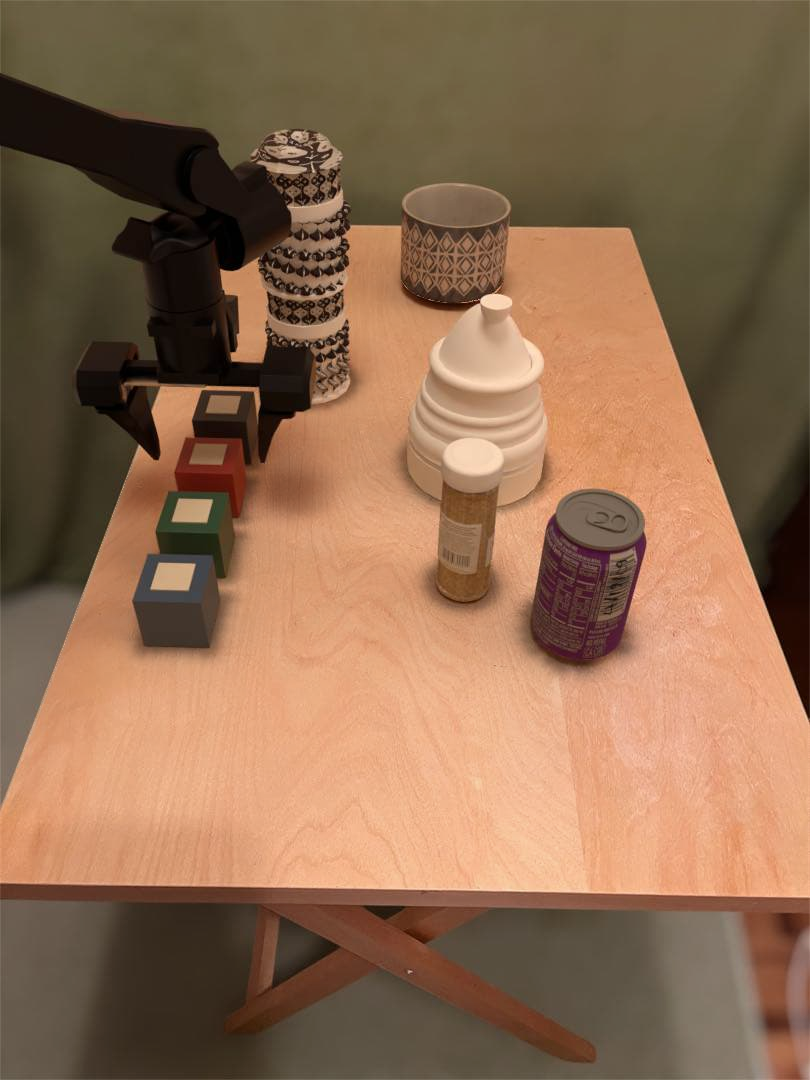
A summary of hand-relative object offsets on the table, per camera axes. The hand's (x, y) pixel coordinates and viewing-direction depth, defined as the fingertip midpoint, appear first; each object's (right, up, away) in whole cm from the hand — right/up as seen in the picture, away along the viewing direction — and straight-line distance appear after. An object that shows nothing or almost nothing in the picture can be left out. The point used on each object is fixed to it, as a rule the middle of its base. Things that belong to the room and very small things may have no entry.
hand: (210, 458), depth 79 cm
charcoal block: (0, +2, +8) cm, 9 cm away
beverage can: (+30, -14, -8) cm, 34 cm away
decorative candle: (+7, +9, +17) cm, 21 cm away
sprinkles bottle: (+22, -11, -4) cm, 25 cm away
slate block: (0, -14, -8) cm, 16 cm away
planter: (+23, +24, +34) cm, 47 cm away
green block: (0, -8, -3) cm, 9 cm away
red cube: (0, -3, +3) cm, 5 cm away
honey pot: (+24, 0, +8) cm, 25 cm away
